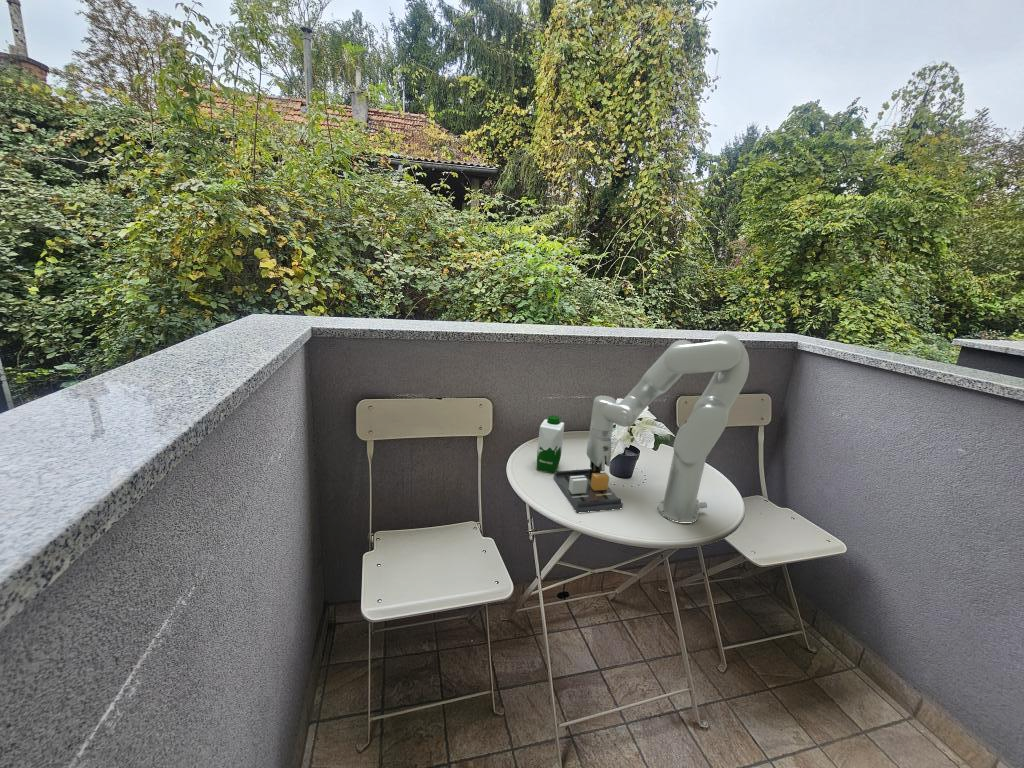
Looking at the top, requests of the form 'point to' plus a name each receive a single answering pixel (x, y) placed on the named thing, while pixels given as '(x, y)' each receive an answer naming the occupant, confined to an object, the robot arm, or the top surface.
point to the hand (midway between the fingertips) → (594, 479)
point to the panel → (587, 493)
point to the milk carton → (550, 444)
